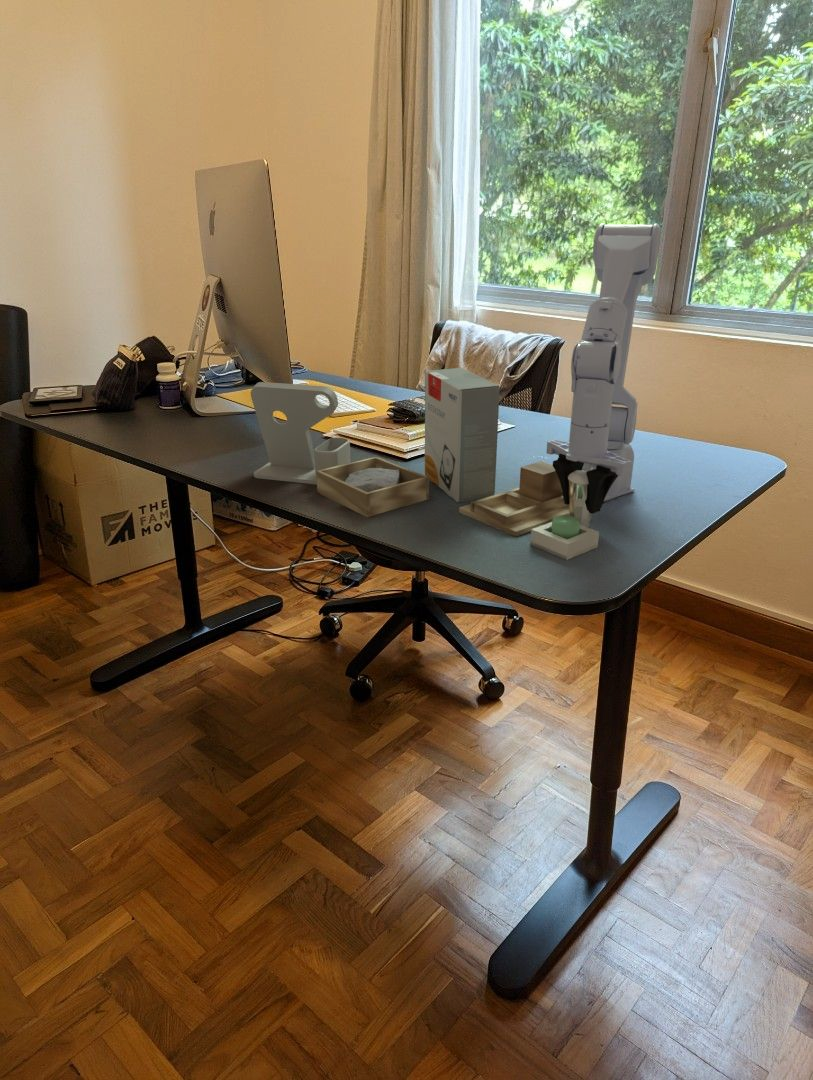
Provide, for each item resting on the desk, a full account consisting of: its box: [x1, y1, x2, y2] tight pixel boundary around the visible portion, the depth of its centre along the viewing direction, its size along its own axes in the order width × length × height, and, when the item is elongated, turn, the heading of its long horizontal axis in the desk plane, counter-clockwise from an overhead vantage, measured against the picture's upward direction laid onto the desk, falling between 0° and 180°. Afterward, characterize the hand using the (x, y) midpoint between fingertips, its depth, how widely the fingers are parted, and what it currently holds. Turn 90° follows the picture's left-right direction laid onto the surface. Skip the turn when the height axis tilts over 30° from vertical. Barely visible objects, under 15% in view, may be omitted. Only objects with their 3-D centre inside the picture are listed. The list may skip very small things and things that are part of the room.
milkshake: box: [568, 465, 594, 528], centre depth 116 cm, size 4×5×10 cm
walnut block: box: [518, 461, 562, 502], centre depth 125 cm, size 5×5×6 cm
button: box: [551, 516, 580, 539], centre depth 110 cm, size 4×4×2 cm
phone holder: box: [250, 381, 351, 485], centre depth 139 cm, size 17×10×18 cm, turn 72°
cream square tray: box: [530, 522, 600, 561], centre depth 111 cm, size 7×7×2 cm
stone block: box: [345, 468, 400, 492], centre depth 131 cm, size 12×5×10 cm
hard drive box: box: [424, 367, 501, 503], centre depth 132 cm, size 16×8×20 cm, turn 21°
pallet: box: [458, 487, 569, 537], centre depth 124 cm, size 17×13×2 cm
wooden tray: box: [316, 456, 430, 518], centre depth 131 cm, size 13×15×4 cm
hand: (582, 507), depth 117 cm, fingers open, 4 cm apart
